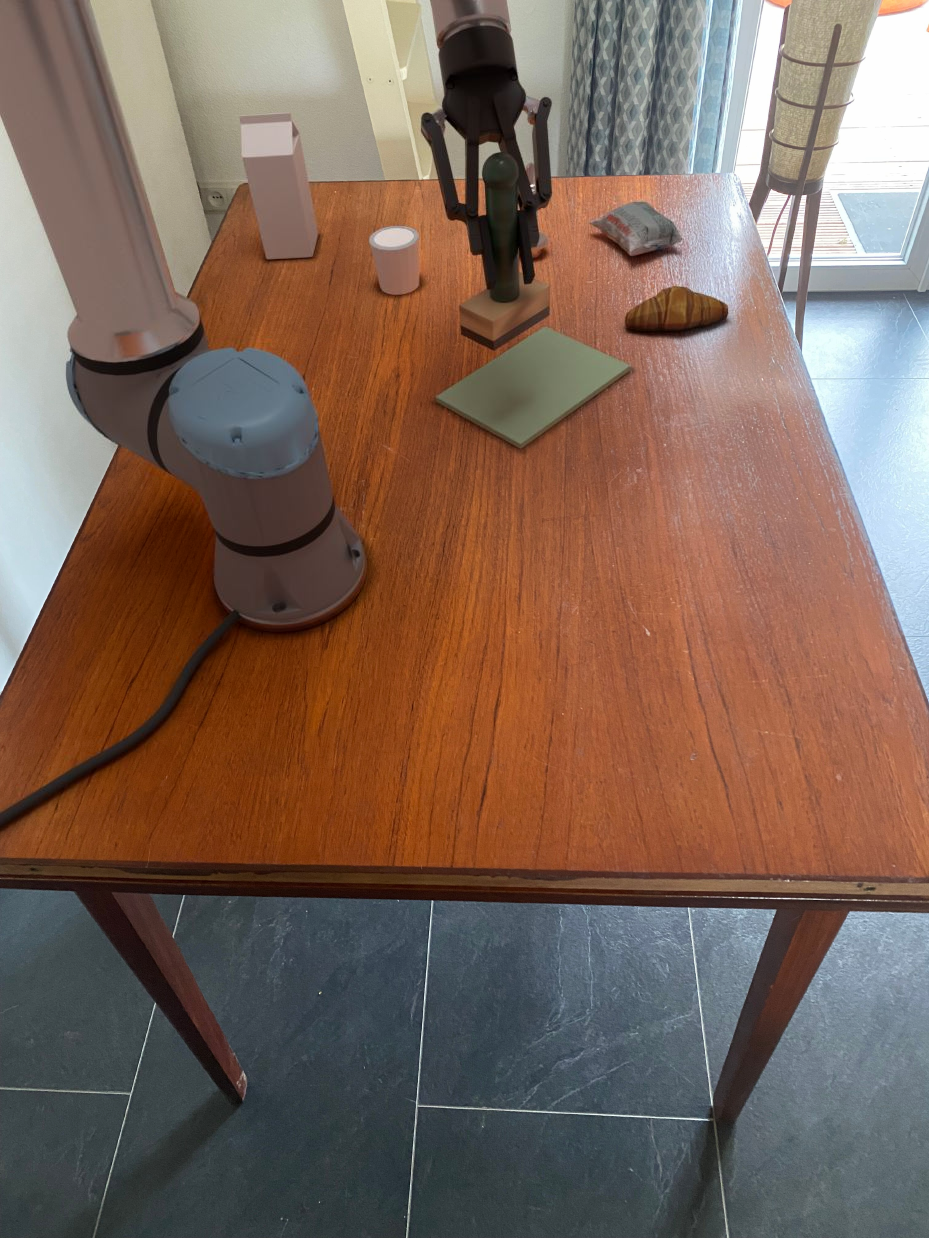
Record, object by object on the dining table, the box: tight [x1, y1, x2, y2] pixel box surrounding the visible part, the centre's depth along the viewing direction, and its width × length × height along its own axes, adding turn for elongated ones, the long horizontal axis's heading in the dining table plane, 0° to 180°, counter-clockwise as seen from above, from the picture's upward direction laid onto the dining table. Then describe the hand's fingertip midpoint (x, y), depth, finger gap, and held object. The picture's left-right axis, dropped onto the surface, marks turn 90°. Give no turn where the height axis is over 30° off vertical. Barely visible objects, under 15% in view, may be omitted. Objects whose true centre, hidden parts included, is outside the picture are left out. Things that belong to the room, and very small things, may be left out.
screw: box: [525, 162, 549, 259], centre depth 127 cm, size 13×5×5 cm
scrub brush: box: [458, 151, 551, 352], centre depth 93 cm, size 9×5×18 cm, turn 135°
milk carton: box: [238, 111, 319, 260], centre depth 131 cm, size 7×7×19 cm
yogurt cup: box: [368, 225, 420, 296], centre depth 126 cm, size 7×7×7 cm
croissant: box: [624, 285, 729, 332], centre depth 116 cm, size 14×7×5 cm, turn 95°
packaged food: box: [589, 201, 683, 257], centre depth 130 cm, size 9×12×5 cm
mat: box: [435, 326, 631, 450], centre depth 111 cm, size 20×14×1 cm
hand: (510, 282), depth 92 cm, fingers closed on scrub brush, 3 cm apart
